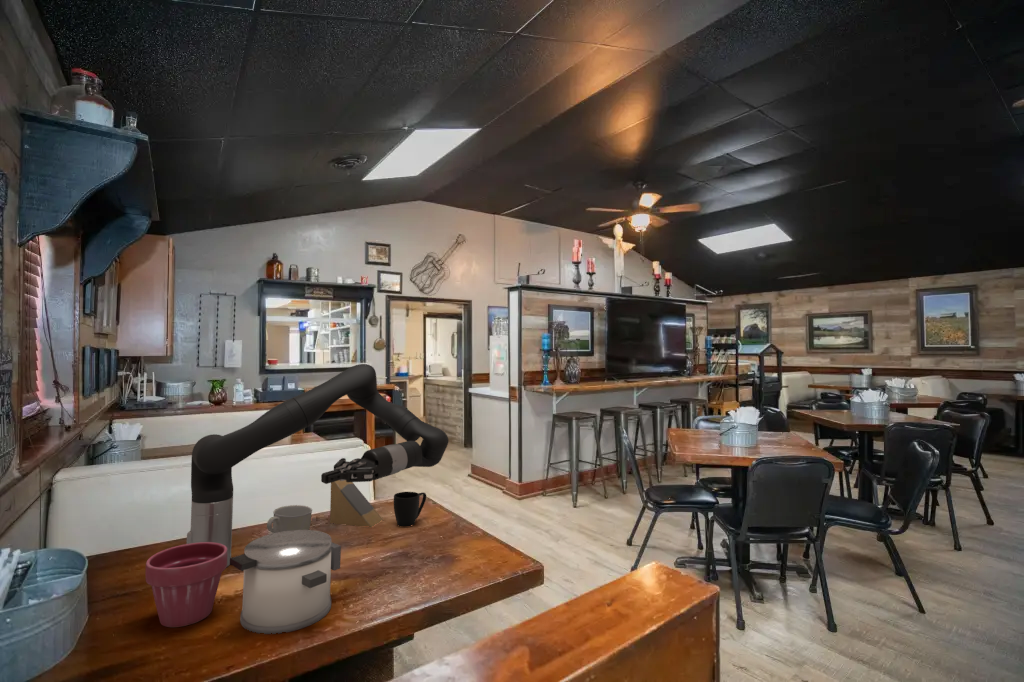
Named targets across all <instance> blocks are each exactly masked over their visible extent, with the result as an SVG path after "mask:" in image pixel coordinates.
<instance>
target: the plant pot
mask: <svg viewBox="0 0 1024 682" xmlns="http://www.w3.org/2000/svg"><path fill="white" fill-rule="evenodd" d="M226 566H227V547H226V546H225V545H223V544H220V543H214V542H199V543H190V544H187V543H183V544H180V545H176V546H172V547H168V548H166V549H163V550H161V551H158V552H157V553H155V554H153V555H151V556H150V557H149V558H148V559H147V561H146V563H145V582H146V584H147V585H149V586H151V590H152V594H153V598H154V604H155V607H156V611H157V614H158V615H157V616H158V618H159V623H160V624H161V625H162V626H163V627H167V628H179V627H185V626H188V625H193V624H195V623H198V622H201V621H202V620H204V619H206V618H207V617H209V615H210V614H212V611H213V606H214V603H215V600H216V595H217V591H218V588H219V583H220V580H221V577H222V572H223V571H224V570H226V568H227V567H228V566H227V567H226Z"/></svg>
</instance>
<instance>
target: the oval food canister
mask: <svg viewBox="0 0 1024 682" xmlns="http://www.w3.org/2000/svg"><path fill="white" fill-rule="evenodd" d="M341 549H342V546H341V544H340V545H339V544H338V543H335V542H333V541H331V551H330V553H329V554H328V555H327V556H325V557H324V558H322V559H320V560H318V561H316V562H313V563H310V564H307V565H303V566H299V567H294V568H288V569H277V570H267V569H258V568H254V567H252V568H249V569H246V570H243V582H242V583H243V584H242V586H243V587H242V588H243V589H242V609H241V612H240V621H239V622H240V625H241V626H242V628H244V629H245V630H246V629H247V631H248V630H249V632H251V631H252V633H255V632H256V633H255V634H260V633H264V634H263V635H277V634H276V633H278V634H283V633H282V632H286V633H291V632H295V631H297V630H302V629H304V628H307V627H309V626H311V625H314V624H315V623H318V622H319V621H320V620H322V619H324V618H325V617H326V616H327V614H328V613H330V610H331V608H332V597H331V576H332V575H331V573H332V572H331V570H332V571H337V570H339V569H341V553H342V550H341ZM271 633H272V634H271Z"/></svg>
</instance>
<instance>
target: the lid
mask: <svg viewBox="0 0 1024 682" xmlns="http://www.w3.org/2000/svg"><path fill="white" fill-rule="evenodd" d="M331 542H333V541H332V537H331V535H330V534H328V533H326V532H323V531H321V530H313V529H309V530H291V531H284V532H278V533H273V532H272V533H270V534H266V535H264V536H261V537H258V538H256V539H254V540H252V541H250V542H249V543H248V544H246V546H245V547H244V553H243V554H239V555H236V556H233V557H232V556H231V558H230V565H231V566H232V567H234V568H236V569H237V570H239V571H241V572H242V571H243V572H244V570H246V569H249V568H252V567H254V568H258V569H267V570H277V569H288V568H294V567H299V566H303V565H307V564H310V563H313V562H316V561H318V560H320V559H322V558H324V557H325V556H327V555H328V554H329V553H330V551H331ZM230 565H229V566H230Z"/></svg>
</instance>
